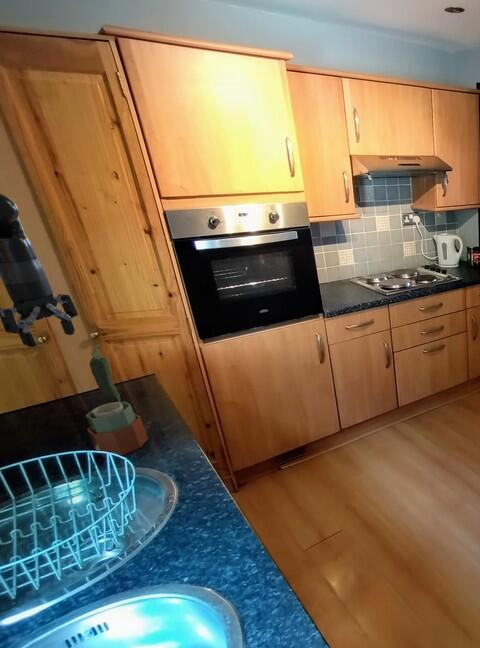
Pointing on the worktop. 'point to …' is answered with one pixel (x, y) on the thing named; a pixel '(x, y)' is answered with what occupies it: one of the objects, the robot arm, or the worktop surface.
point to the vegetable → (103, 376)
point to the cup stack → (117, 431)
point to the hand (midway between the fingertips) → (51, 340)
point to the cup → (108, 410)
